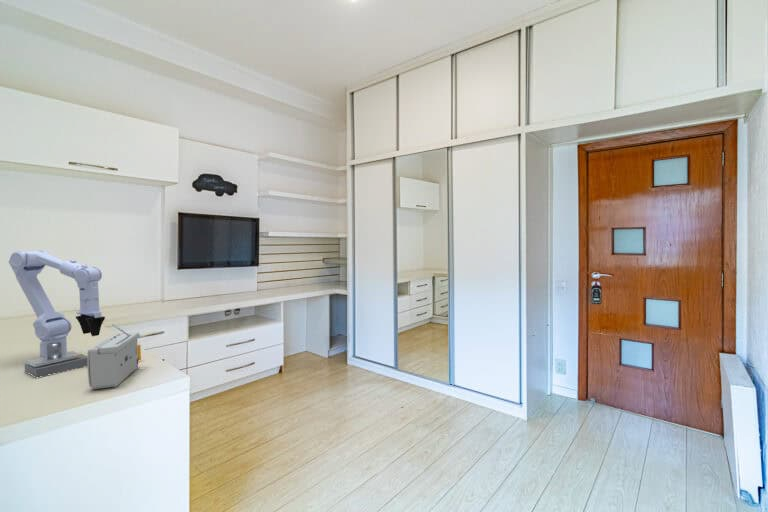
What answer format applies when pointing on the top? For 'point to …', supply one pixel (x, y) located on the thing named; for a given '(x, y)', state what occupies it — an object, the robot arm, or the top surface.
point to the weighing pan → (48, 361)
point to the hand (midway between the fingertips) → (91, 334)
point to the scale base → (56, 366)
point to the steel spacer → (54, 350)
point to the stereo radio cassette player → (112, 360)
